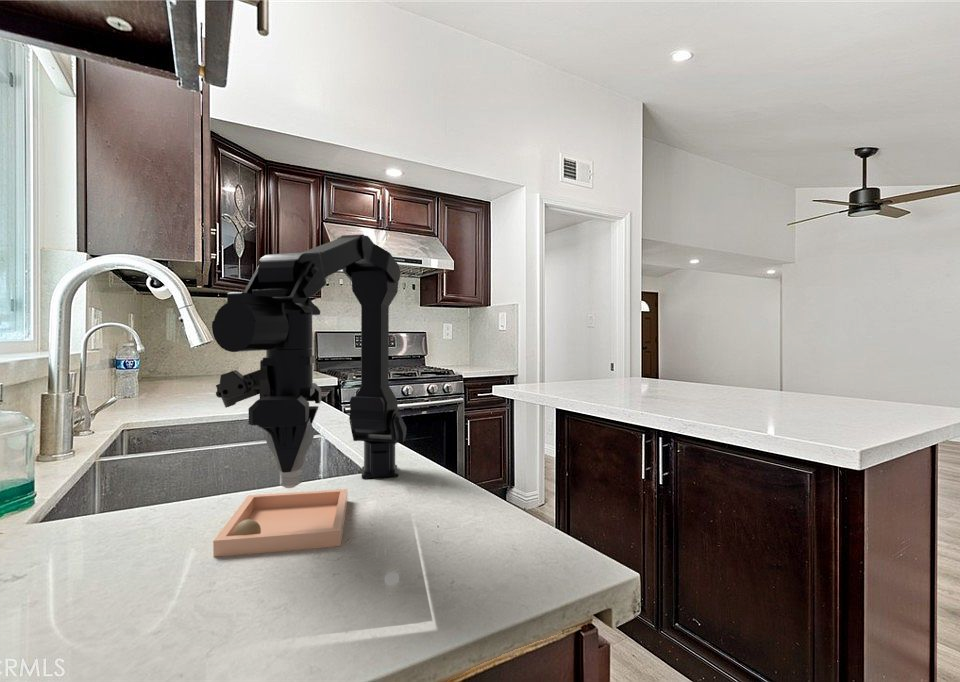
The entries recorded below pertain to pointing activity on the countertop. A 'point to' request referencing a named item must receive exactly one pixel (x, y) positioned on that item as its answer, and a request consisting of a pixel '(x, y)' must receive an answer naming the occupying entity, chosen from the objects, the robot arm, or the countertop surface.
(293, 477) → the light bulb
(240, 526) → the cork ball
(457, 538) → the countertop surface
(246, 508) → the dish
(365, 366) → the robot arm
